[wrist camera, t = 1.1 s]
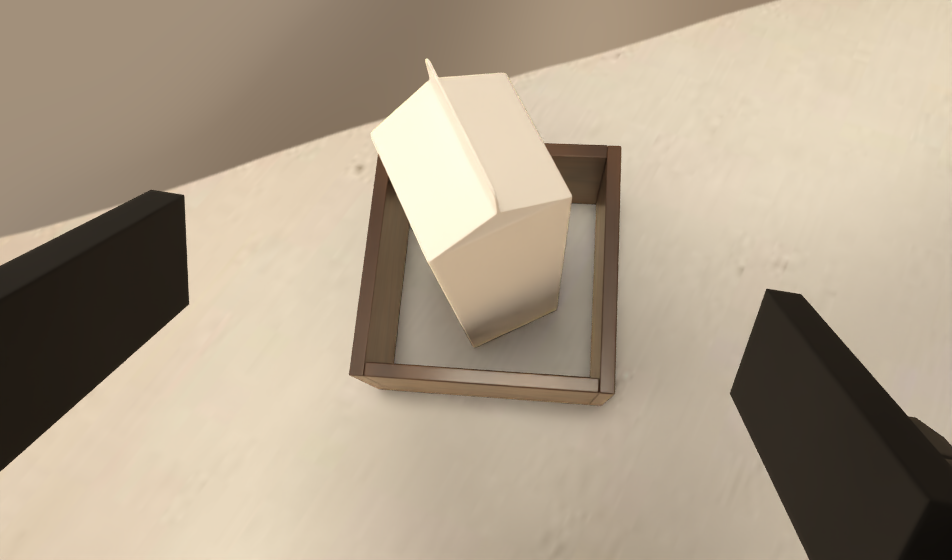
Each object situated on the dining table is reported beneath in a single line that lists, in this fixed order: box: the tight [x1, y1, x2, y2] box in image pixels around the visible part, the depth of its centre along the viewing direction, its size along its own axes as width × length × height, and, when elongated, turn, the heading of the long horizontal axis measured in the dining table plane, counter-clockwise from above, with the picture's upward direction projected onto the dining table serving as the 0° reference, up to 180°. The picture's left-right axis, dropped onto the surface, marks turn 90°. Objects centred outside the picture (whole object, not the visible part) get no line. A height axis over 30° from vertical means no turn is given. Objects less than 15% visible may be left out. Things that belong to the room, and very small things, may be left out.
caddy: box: [349, 143, 621, 406], centre depth 40 cm, size 14×14×7 cm
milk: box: [370, 59, 572, 348], centre depth 33 cm, size 6×6×22 cm
